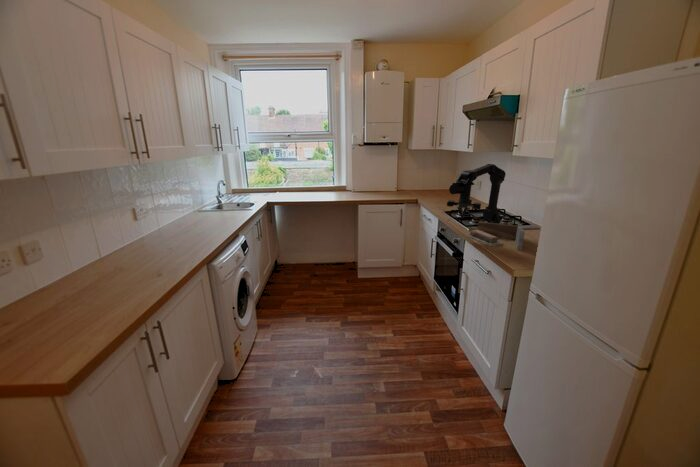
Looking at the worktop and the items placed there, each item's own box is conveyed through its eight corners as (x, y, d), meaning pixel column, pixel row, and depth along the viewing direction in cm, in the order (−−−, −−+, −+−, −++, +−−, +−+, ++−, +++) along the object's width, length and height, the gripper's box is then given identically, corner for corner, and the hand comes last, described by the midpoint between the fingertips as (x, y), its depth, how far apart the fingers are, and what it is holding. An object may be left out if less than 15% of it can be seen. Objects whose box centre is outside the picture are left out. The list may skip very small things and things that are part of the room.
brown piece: (476, 233, 192) (479, 218, 189) (518, 238, 183) (521, 223, 180) (475, 244, 174) (477, 227, 171) (521, 250, 165) (524, 233, 162)
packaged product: (467, 229, 185) (479, 228, 189) (466, 237, 187) (478, 235, 190) (490, 239, 169) (503, 236, 173) (489, 247, 171) (502, 244, 175)
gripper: (447, 194, 173) (444, 220, 178) (482, 196, 166) (478, 223, 171) (449, 190, 183) (446, 215, 188) (482, 193, 176) (478, 218, 181)
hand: (462, 218), depth 182 cm, fingers closed
